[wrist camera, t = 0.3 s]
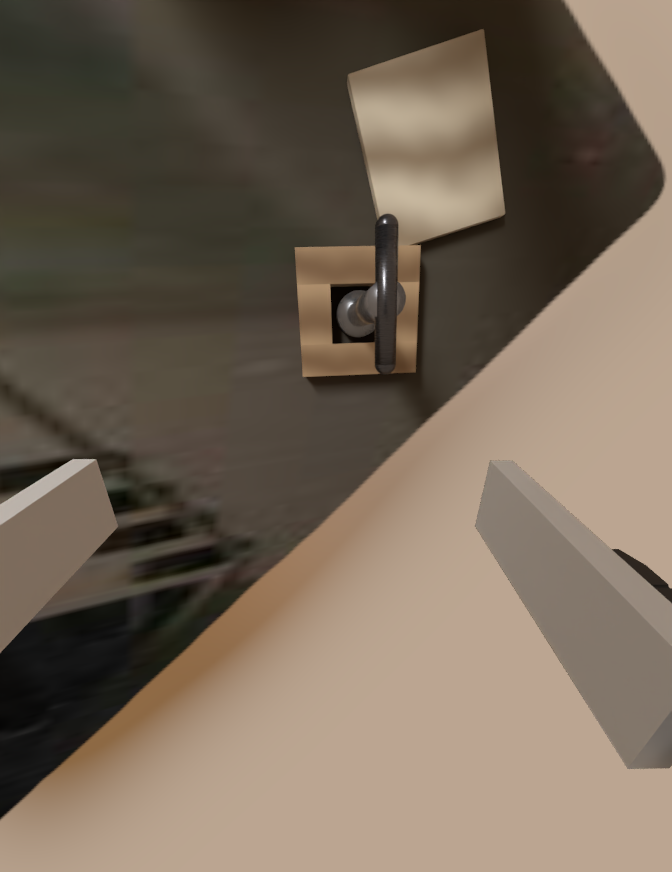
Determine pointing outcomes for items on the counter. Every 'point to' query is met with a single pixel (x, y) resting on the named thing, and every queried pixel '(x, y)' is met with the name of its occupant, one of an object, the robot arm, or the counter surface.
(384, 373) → the chuck key
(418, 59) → the birch board
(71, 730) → the counter surface
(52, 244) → the counter surface
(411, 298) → the holder block
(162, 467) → the counter surface
